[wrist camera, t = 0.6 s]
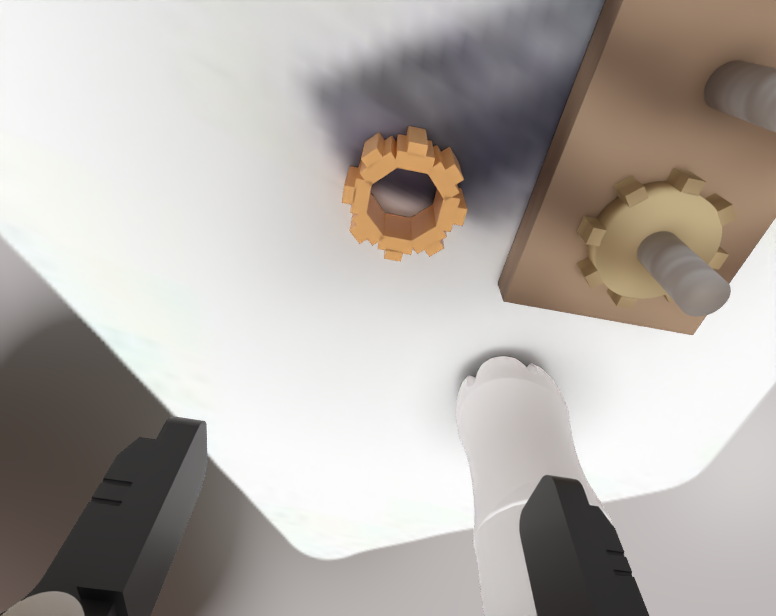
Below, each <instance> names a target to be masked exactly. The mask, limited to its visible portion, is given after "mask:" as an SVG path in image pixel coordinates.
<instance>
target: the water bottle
mask: <svg viewBox="0 0 776 616" xmlns="http://www.w3.org/2000/svg"><path fill="white" fill-rule="evenodd" d="M456 419H457V428H458V434H459V437H460V440H461V442H462V445H463V447H464V450H465V452H466V455H467V459H468V463H469V467H470V473H471V478H472V485H473V495H474V535H473V546H474V550H475V552H476V558H477V565H478V572H479V581H480V587H481V588H480V589H481V595H482V604H483V612H484V616H537V613H536V608H535V604H534V599H533V594H532V590H531V585H530V580H529V576H528V571H527V566H526V562H525V557H524V552H523V548H522V543H521V538H520V532H519V521H520V515H521V512H522V509H523V507H524V506H525V504H526V503H527V501H528V499H529V498H530V496H531V495H532V493H533V491H534V490H535V488H536V486H537V485H538V483H539V482H540V480H541V478H542V477H543V476H544V475H552V476H559V477H565V478H572V479H577V480H578V481H580V483H581V484H582V486H583V488H584V491H585V493H586V496H587V499H588V502H589V504H590V505H593V506H599V508H600V509H601V510H602V512H603V513H604V514H605V516H606V517H607V518H608V520H609V521H610V522H611V524H612V525H613V523H612V520H611V518H610V516H609V514H608V512H607V510H606V509H605V507H604V506H603V504H602V503H601V502H600V500H599V499H598V498H597V496H596V494H595V493H594V491H593V489H592V488H591V486H590V485H589V483H588V481H587V479H586V477H585V475H584V473H583V470H582V468H581V465H580V463H579V460H578V457H577V454H576V451H575V447H574V443H573V438H572V433H571V427H570V417H569V411H568V409H567V406H566V403H565V401H564V398H563V396H562V394H561V392H560V390H559V388H558V387H557V385H556V383H555V382H554V381H553V379H552V378H551V377H550V376H549V375H548V374H547V373H546V372H545V371H544V370H543V369H542V368H540V367H538V366H536V365H534V364H532V363H531V364H529V365H528V366H527V367H526V366H525V365H524V364H523V363H521V362H520V361H519V360H517V359H515V358H513V357H507V356H500V357H494V358H491V359H489V360H487V361H486V362H484V363H483V364H482V365H481V366H480V368H479V370H478V372H477V375H476V378H475V377H473V376H468V377H467V378H466V379H465V380H464V381H463V382H462V385H461V387H460V390H459V393H458V397H457V403H456Z"/></svg>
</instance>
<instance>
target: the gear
mask: <svg viewBox="0 0 776 616" xmlns="http://www.w3.org/2000/svg"><path fill="white" fill-rule="evenodd" d="M396 168H401V169H406V170H411V171H416V172H421V173H426V174H428V175H429V177H430V178H431V180H432V181H433V183H434V184H435V186H436V188H437V191H436V194H435V198H434V202H433V204H432V205H431V206H429V207H427V208H426V209H424V210H422V211H421V212H419V213H418V214H416V215H414V216H413V217H411V218H410V217H404V216H399V215H394V214H389V213H385V212H384V211H383V209H382V208H381V206H380V205H379V204H378V202H377V201H376V199H375V198H374V197H373V195H372V194H371V193H370V191H371V186H372V184H374V183H375V182H377V181H378V180H380V179H381V178H383V177H384V176H386V175H387V174H389V173H390V172H392V171H393V170H395V169H396ZM463 180H464V178H463V175H462V172H461V169H460V166H459V163H458V160H457V158H456V157H455V155H454V153H453V152H452V150H451V148H450V146H449V147H448V148H446V149H445V150H443V151H442V152H441V151H440V149H439V147H438V146H437V145H435V146H434V147H433V145H432V141H430V140H427V135H426V129H421V128H417V127H412V126H408V131H407V135H401V134H398V136H397V141H395V139H394V138H393V136H392V135H391V136H390V137H388V138H387V139H386V140H384V138H383V137H382V135H381V134H380V132H378V133H377V134H375V135H374V136H373V137H371V138H370V139H368V140H367V141H365V144H364V148H363V152H362V156H361V160H360V163H359V168H357V167H352V166H350V168H349V171H348V174H347V178H346V181H345V185H344V191H343V198H342V203H346V204H351V205H352V206H351V212H350V213H353V216H352V221H351V226H350V230H349V231H350V232H351V233H352V235H353V236H354V237H355V238H356V240H357V241H358V242H359V244H360V243H362V242H363V241H365V240H367V239H368V240H369V242H370V243H371V244H372V246H373V245H374V244H376V243H377V242H378V249H382V250H385V255H384V259H390V260H395V261H401V259H402V254H403V253H404V254H409V255H411V253H412V249H414V250H415V252H416V253H417V254H418V253H420V252H421V251H423V250H425V251H426V253H427V254H428V255H429V257H430V256H432V255H433V254H435V253H437V252H439V251H440V250H442V249H444V245H443V239H444V238H445V237H447V235H446V231H448V232H451V229H452V226H453V224H456V225H461V226H463V223H464V219H465V216H466V213H467V206H466V203H465V199H464V196H463V192H462V189H461V188H458V186H457V184H458V183H459V182H461V181H463Z"/></svg>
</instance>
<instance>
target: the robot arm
mask: <svg viewBox="0 0 776 616" xmlns="http://www.w3.org/2000/svg"><path fill="white" fill-rule="evenodd" d="M206 469H207V430H206V422H205V421H200V420H194V419H187V418H181V417H174V416H171V417H170V418H168V420H167V421H166V422H165V424H164V426H163V428H162V430H161V432H160V433H159V435H158V437H157V439H149V438H142V437H139V438H138V439H137V440H135V441H134V442H133V443H132V444H130V445H129V446H128V447H127V448H126V449H124V450H123V451H122V452H121V453H120V454H119V455H117V457H116V458H115V460H114V462H113V463H112V465H111V467H110V468H109V470H108V472H107V473H106V475H105V477H104V479H103V482H102V483H100V485H99V486H98V488H97V490H96V491H95V493H94V495H93V496H92V500H91V502H89V503H88V504H87V506H86V508H85V509H84V511H83V513H82V514H81V516H80V518H79V519H78V521H77V522H76V524H75V526H74V527H73V529H72V531H71V532H70V534H69V536H68V537H67V539H66V541H65V542H64V544H63V545H62V547H61V549H60V550H59V552H58V554H57V555H56V557H55V559H54V560H53V562H52V564H51V565H50V567H49V569H48V570H47V572H46V573H45V575H44V576H43V578H42V579H41V581H40V582H39V583H38V585H37V586H36V587H35V588H34V589H33V590H32V591H31V592H30V593H29V594H28V595H27V596H26V597H25V598H24V599H22V600H21V601H20V602H18V603H17V604H15V605H14V606H12V607H11V608H10V609H8V610H6V611H5V612H3V613H1V614H0V616H151V614H152V611H153V608H154V606H155V603H156V601H157V599H158V596H159V593H160V591H161V589H162V586H163V584H164V581H165V579H166V576H167V574H168V571H169V568H170V566H171V564H172V561H173V559H174V556H175V554H176V551H177V549H178V546H179V544H180V541H181V539H182V536H183V534H184V531H185V529H186V526H187V524H188V521H189V519H190V516H191V514H192V511H193V509H194V506H195V504H196V501H197V499H198V496H199V494H200V491H201V489H202V486H203V482H204V478H205V475H206ZM519 532H520V538H521V543H522V548H523V552H524V557H525V562H526V566H527V571H528V576H529V580H530V585H531V590H532V594H533V599H534V604H535V608H536V613H537V616H649V614H648V611H647V609H646V606H645V604H644V601H643V599H642V596H641V593H640V591H639V588H638V586H637V583H636V581H635V578H634V577H632V571H631V568H630V566H629V563H628V560H627V558H626V557H624V550H623V548H622V545H621V543H620V540H619V538H618V535H617V533H616V530H615V528H614V526H613V525H612V524H611V522H610V521H609V520H608V518H607V517H606V516H605V514H604V513H603V512H602V510H601V509H600V508H599V506H593V505H590V504H589V502H588V499H587V496H586V493H585V491H584V488H583V486H582V484H581V483H580V481H578V480H577V479H572V478H565V477H559V476H552V475H544V476H543V477H542V478H541V480H540V482H539V483H538V485H537V486H536V488H535V490H534V491H533V493H532V495H531V496H530V498H529V499H528V501H527V503H526V504H525V506H524V507H523V509H522V512H521V515H520V521H519Z"/></svg>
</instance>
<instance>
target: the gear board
mask: <svg viewBox="0 0 776 616" xmlns="http://www.w3.org/2000/svg"><path fill="white" fill-rule="evenodd" d="M775 218H776V0H605V3H604V6H603V8H602V11H601V14H600V16H599V19H598V22H597V24H596V27H595V29H594V32H593V35H592V37H591V40H590V43H589V45H588V48H587V50H586V53H585V56H584V58H583V61H582V64H581V66H580V69H579V71H578V74H577V77H576V79H575V82H574V85H573V87H572V90H571V93H570V95H569V98H568V100H567V103H566V106H565V108H564V111H563V114H562V116H561V119H560V121H559V124H558V127H557V129H556V132H555V135H554V137H553V140H552V142H551V145H550V148H549V150H548V153H547V156H546V158H545V161H544V163H543V166H542V169H541V171H540V174H539V177H538V179H537V182H536V185H535V187H534V190H533V192H532V195H531V198H530V200H529V203H528V206H527V208H526V211H525V213H524V216H523V219H522V221H521V224H520V227H519V229H518V232H517V234H516V237H515V240H514V242H513V245H512V248H511V250H510V253H509V256H508V258H507V261H506V263H505V266H504V269H503V271H502V274H501V277H500V279H499V282H498V286H499V289H500V292H501V295H502V298H503V301H504V302H510V303H515V304H521V305H527V306H532V307H538V308H543V309H549V310H555V311H560V312H566V313H571V314H577V315H583V316H588V317H594V318H599V319H605V320H610V321H616V322H622V323H627V324H633V325H638V326H644V327H650V328H655V329H661V330H666V331H672V332H677V333H683V334H689V335H693V334H694V333H695V331H696V330H697V329H698V327H699V326H700V324H701V323H702V321H703V320H704V319H705V317H706V316H707V315H708V314H711V313H713V312H715V311H717V310H718V309H719V308H721V307H722V306H723V305H724V304H725V303H726V301H727V300H728V298H729V296H730V291H731V290H730V285H729V283H730V282H731V280H732V279H733V278H734V276H735V275H736V273H737V272H738V270H739V269H740V268H741V266H742V265H743V263H744V262H745V260H746V259H747V258H748V256H749V255H750V253H751V252H752V251H753V249H754V248H755V246H756V245H757V243H758V242H759V241H760V239H761V238H762V236H763V235H764V234H765V232H766V231H767V229H768V228H769V226H770V225H771V224H772V222H773V221H774V219H775Z"/></svg>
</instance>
